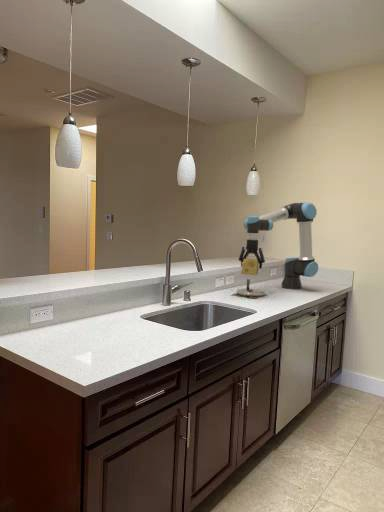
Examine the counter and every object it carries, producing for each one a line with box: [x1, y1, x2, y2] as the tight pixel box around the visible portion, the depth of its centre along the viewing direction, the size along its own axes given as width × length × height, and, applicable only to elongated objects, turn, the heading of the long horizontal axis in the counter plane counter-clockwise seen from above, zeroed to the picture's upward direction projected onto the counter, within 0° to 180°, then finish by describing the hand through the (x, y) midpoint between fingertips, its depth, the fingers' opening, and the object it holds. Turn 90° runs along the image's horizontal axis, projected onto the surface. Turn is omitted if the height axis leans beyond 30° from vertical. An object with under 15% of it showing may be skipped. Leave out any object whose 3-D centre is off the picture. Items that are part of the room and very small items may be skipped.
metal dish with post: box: [236, 278, 265, 297], centre depth 263 cm, size 18×18×9 cm
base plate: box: [231, 292, 269, 300], centre depth 264 cm, size 19×18×1 cm
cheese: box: [240, 257, 259, 276], centre depth 258 cm, size 10×11×10 cm
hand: (251, 272), depth 258 cm, fingers closed on cheese, 11 cm apart
